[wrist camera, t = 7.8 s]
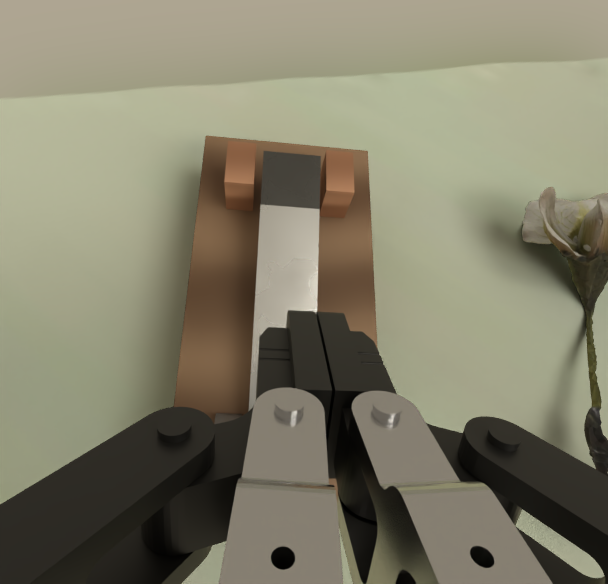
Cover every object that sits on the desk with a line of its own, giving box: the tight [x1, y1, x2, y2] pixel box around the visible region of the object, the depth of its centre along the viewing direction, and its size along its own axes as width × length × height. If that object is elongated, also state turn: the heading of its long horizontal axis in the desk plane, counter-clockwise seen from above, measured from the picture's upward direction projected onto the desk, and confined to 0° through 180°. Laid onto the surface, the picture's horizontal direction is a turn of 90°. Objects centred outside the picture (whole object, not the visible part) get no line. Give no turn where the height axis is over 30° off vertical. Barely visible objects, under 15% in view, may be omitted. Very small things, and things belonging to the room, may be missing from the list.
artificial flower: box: [522, 187, 608, 476], centre depth 26 cm, size 9×22×10 cm, turn 163°
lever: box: [249, 151, 321, 411], centre depth 22 cm, size 14×3×1 cm, turn 179°
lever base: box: [174, 136, 377, 496], centre depth 24 cm, size 20×10×7 cm, turn 179°
